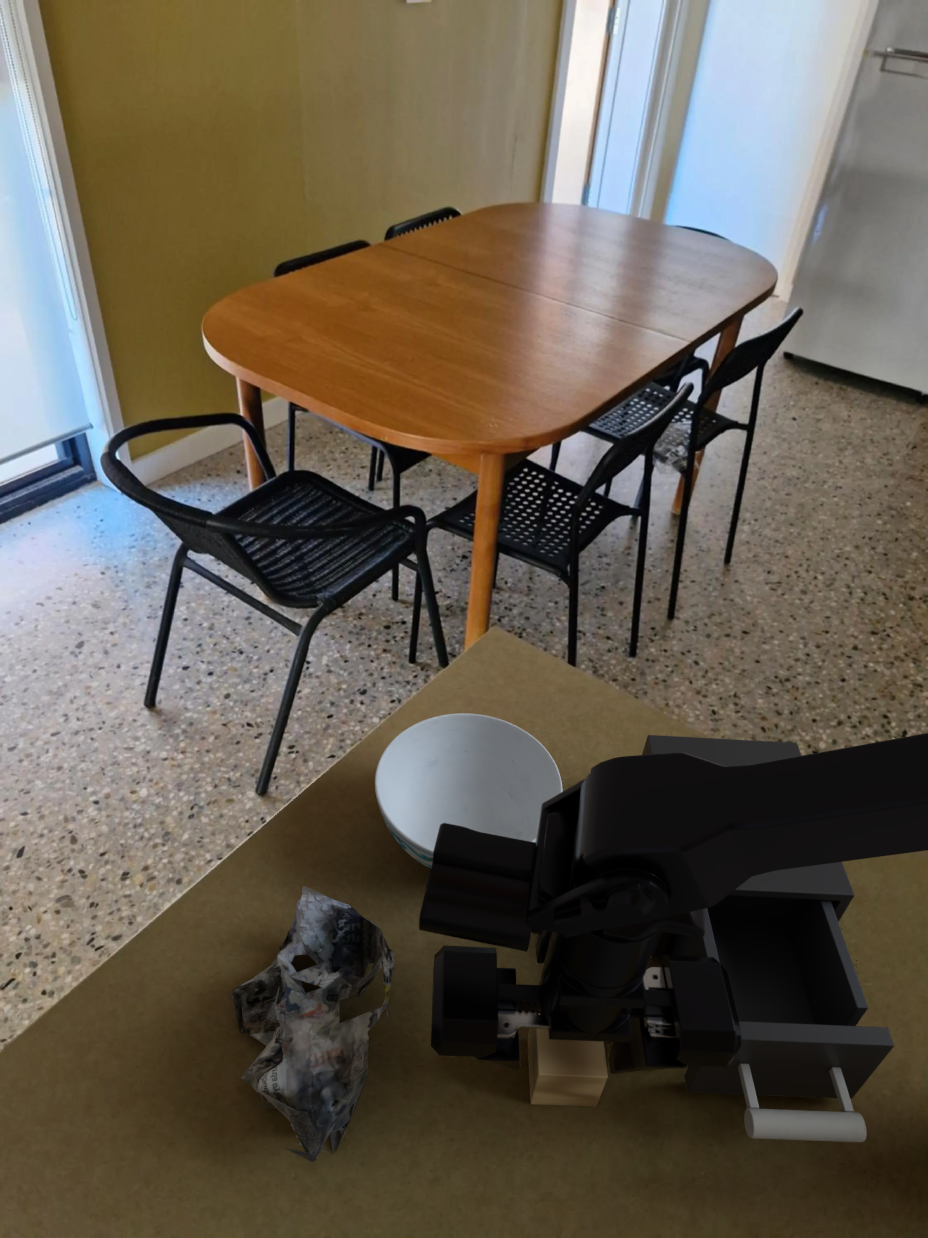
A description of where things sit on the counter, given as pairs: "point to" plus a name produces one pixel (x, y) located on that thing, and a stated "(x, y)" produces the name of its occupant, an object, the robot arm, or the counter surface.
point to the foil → (314, 1020)
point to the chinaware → (463, 781)
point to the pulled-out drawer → (789, 1015)
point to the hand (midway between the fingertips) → (563, 1064)
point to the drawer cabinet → (775, 884)
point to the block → (565, 1070)
